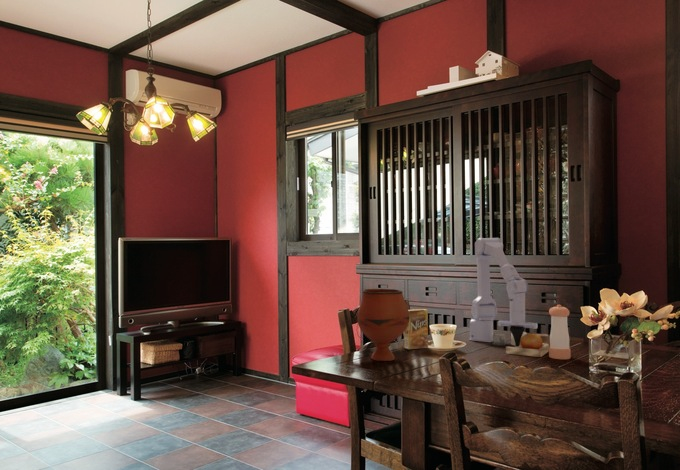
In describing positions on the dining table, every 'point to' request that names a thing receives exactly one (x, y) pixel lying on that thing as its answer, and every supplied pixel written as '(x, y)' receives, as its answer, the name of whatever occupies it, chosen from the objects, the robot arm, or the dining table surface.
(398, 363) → the dining table surface
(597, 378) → the dining table surface
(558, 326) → the salt shaker
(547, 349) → the tray
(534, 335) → the fruit
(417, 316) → the candy box
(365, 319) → the goblet
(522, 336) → the white block
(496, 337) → the tin
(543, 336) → the walnut block
